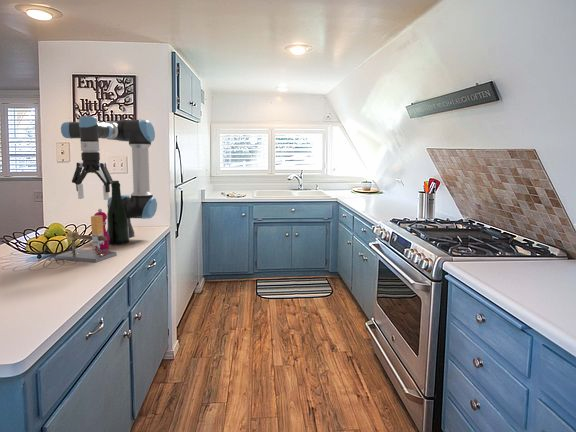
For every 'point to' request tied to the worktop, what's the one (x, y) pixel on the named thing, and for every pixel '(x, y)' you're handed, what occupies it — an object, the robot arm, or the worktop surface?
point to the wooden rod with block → (75, 235)
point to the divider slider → (97, 230)
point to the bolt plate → (86, 255)
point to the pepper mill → (105, 245)
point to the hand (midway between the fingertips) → (93, 199)
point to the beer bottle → (117, 218)
